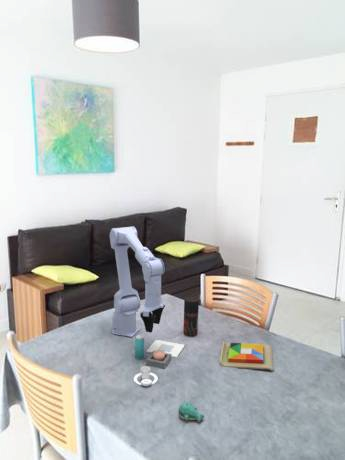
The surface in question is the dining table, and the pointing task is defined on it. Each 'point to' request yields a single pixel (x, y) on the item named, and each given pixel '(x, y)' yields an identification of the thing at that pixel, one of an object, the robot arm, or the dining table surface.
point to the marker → (139, 347)
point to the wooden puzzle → (247, 356)
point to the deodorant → (191, 316)
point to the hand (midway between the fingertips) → (152, 327)
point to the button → (159, 355)
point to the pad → (166, 347)
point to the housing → (156, 363)
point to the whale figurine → (189, 412)
